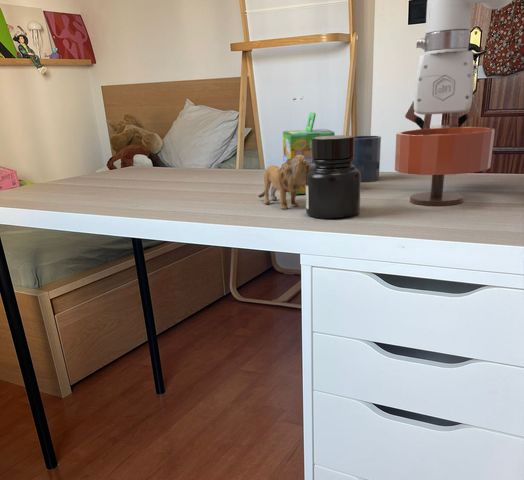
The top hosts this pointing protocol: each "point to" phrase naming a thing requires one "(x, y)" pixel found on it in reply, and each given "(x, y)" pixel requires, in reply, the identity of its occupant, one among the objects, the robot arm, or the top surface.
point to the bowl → (444, 150)
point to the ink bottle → (333, 178)
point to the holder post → (436, 195)
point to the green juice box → (302, 144)
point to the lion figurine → (286, 179)
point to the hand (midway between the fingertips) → (438, 152)
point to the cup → (367, 157)
